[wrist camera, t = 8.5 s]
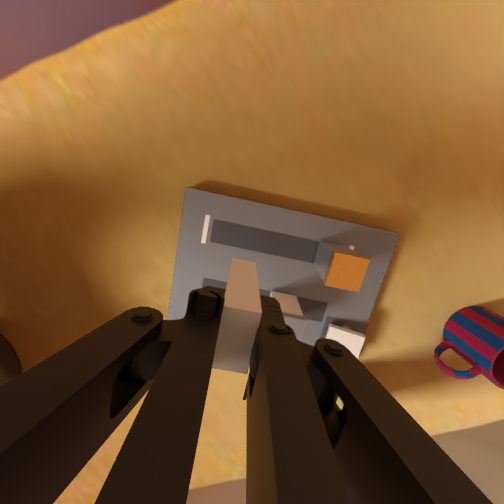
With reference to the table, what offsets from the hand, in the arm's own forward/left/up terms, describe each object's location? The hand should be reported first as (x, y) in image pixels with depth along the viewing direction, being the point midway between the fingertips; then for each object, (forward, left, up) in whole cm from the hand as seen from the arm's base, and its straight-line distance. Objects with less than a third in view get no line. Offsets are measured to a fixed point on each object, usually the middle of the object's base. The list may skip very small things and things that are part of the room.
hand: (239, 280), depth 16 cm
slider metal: (+9, 0, -12) cm, 16 cm away
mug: (+30, -7, -15) cm, 34 cm away
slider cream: (+6, -7, -12) cm, 15 cm away
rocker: (+14, -10, -13) cm, 22 cm away
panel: (+5, -5, -15) cm, 16 cm away
